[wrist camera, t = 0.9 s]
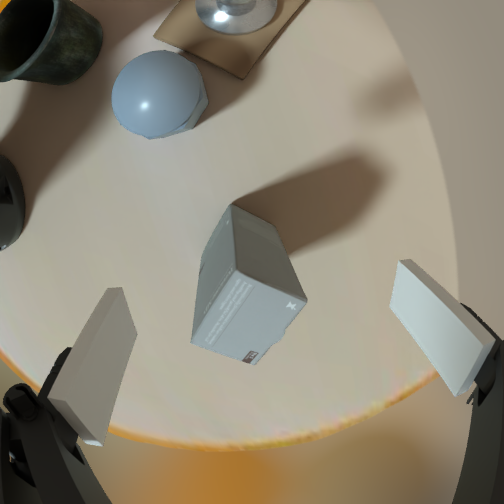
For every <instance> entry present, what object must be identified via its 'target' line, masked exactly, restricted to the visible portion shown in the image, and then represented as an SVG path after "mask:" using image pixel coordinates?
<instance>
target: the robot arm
mask: <svg viewBox="0 0 504 504" xmlns="http://www.w3.org/2000/svg"><path fill="white" fill-rule="evenodd" d="M24 217H25V201H24V194H23V189H22V185H21V182H20V179H19V176H18V174H17V172H16V170H15V168H14V167H13V165H12V164H11V163H10V161H9V160H8V159H6V158H5V157H4V156H2V155H0V251H2V250H4V249H6V248H7V247H8V246H10V245H11V244H13V243H14V242H15V241H16V240H17V238H18V237H19V235H20V233H21V230H22V227H23V223H24ZM390 308H391V310H392V311H393V312H394V313H395V315H396V316H397V317H398V319H399V320H400V321H401V322H402V324H403V325H404V326H405V328H406V329H407V330H408V332H409V333H410V334H411V336H412V337H413V338H414V340H415V341H416V342H417V344H418V345H419V346H420V348H421V349H422V350H423V352H424V353H425V355H426V356H427V357H428V359H429V360H430V362H431V363H432V364H433V366H434V367H435V369H436V370H437V371H438V373H439V374H440V376H441V377H442V378H443V380H444V381H445V383H446V385H447V386H448V387H449V389H450V390H451V392H452V393H453V395H454V396H455V397H456V396H458V395H460V394H462V393H464V392H466V391H467V390H468V389H469V387H470V386H471V384H472V383H473V381H475V383H476V384H477V386H476V388H475V390H474V391H473V392H472V394H471V396H470V397H469V399H468V400H467V404H469V402H470V401H471V400H472V398H474V399H473V403H472V405H473V409H472V417H471V425H470V432H469V437H468V443H467V448H466V453H465V458H464V463H463V467H462V471H461V475H460V478H459V482H458V486H457V489H456V493H455V496H454V499H453V502H452V504H504V340H503V341H502V340H501V339H500V338H499V337H498V336H497V335H496V333H494V331H493V330H492V329H491V328H490V327H489V326H488V325H487V324H486V323H485V322H483V321H482V319H481V318H480V317H479V316H478V317H477V314H476V313H475V312H474V311H472V309H471V308H469V307H467V306H466V305H464V304H462V303H459V302H458V301H457V300H456V299H455V298H454V297H453V296H452V295H451V294H449V293H448V292H447V291H446V290H445V289H444V288H443V287H442V286H441V285H440V284H439V283H437V282H436V281H435V280H434V279H433V278H432V277H431V276H430V275H428V274H427V273H426V272H425V271H424V270H423V269H422V268H420V267H419V266H418V265H417V264H416V263H415V262H413V261H412V260H411V259H407V260H399V261H398V266H397V272H396V277H395V282H394V288H393V293H392V297H391V302H390ZM136 337H137V331H136V328H135V326H134V323H133V320H132V317H131V314H130V311H129V308H128V305H127V302H126V299H125V296H124V292H123V289H122V287H119V288H108V289H107V290H106V292H105V293H104V295H103V296H102V298H101V300H100V301H99V303H98V305H97V306H96V308H95V309H94V311H93V313H92V314H91V316H90V318H89V320H88V321H87V323H86V325H85V326H84V328H83V330H82V332H81V333H80V335H79V337H78V339H77V340H76V342H75V344H74V346H73V348H71V347H67V348H66V349H65V350H64V351H63V352H62V353H61V354H60V355H59V356H58V358H57V360H56V362H55V363H54V366H53V367H52V369H51V371H50V374H49V375H48V376H47V378H46V380H45V382H44V384H43V386H42V388H41V390H40V392H39V394H38V396H36V394H35V393H34V392H33V391H32V389H31V387H30V386H28V385H27V384H24V383H19V384H16V385H14V386H12V387H11V388H9V390H8V391H7V392H6V394H5V396H4V398H3V405H4V406H5V407H6V408H7V409H8V411H9V412H10V413H5V412H4V411H3V410H2V409H1V407H0V504H112V503H111V501H110V500H109V498H108V497H107V495H106V493H105V492H104V490H103V488H102V487H101V485H100V484H99V482H98V480H97V478H96V477H95V475H94V473H93V471H92V469H91V468H90V466H89V464H88V462H87V460H86V458H85V456H84V454H83V452H82V450H81V448H80V446H79V445H78V444H77V443H76V441H77V438H78V435H79V437H80V438H82V440H83V441H84V442H85V443H86V444H92V445H97V446H103V444H104V441H105V437H106V433H107V430H108V426H109V422H110V419H111V415H112V412H113V408H114V405H115V401H116V398H117V395H118V391H119V388H120V385H121V382H122V378H123V375H124V372H125V369H126V366H127V363H128V360H129V357H130V354H131V351H132V348H133V345H134V342H135V340H136ZM9 455H10V456H11V462H10V457H9Z"/></svg>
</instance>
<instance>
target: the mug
mask: <svg viewBox="0 0 504 504" xmlns="http://www.w3.org/2000/svg"><path fill="white" fill-rule="evenodd" d="M101 43H102V28H101V25H100V23H99V22H98V20H97V19H96V18H94V17H93V16H91V15H90V14H89V13H87V12H86V11H84V10H83V9H81V8H80V7H78V6H77V5H76V4H74V3H73V2H71V1H70V0H11V1H10V2H9V3H8V4H7V6H6V7H5V8H4V9H3V10H2V12H1V13H0V82H6V81H10V80H12V79H17V80H26V81H34V82H41V83H47V84H54V85H64V84H68V83H70V82H72V81H74V80H76V79H78V78H79V77H80V76H81V75H83V74H84V73H85V72H86V71H87V70H88V69H89V67H90V66H91V65H92V63H93V62H94V60H95V59H96V57H97V55H98V53H99V50H100V47H101Z"/></svg>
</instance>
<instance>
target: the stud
mask: <svg viewBox="0 0 504 504" xmlns="http://www.w3.org/2000/svg"><path fill="white" fill-rule="evenodd" d="M195 7H196V12H197V15H198V17H199V19H200V20H201V22H202V23H203V24H204V25H205V26H206V27H208V28H209V29H211V30H213V31H215V32H217V33H220V34H224V35H232V36H239V35H246V34H250V33H253V32H256V31H258V30H260V29H262V28H263V27H265V26H266V25H267V24H268V23H269V22H270V21H271V19H272V18H273V16H274V14H275V11H276V8H277V0H196V1H195Z"/></svg>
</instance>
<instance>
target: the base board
mask: <svg viewBox="0 0 504 504" xmlns="http://www.w3.org/2000/svg"><path fill="white" fill-rule="evenodd" d="M195 1H196V0H180V2H179V3H178V4H177V5H176V6H175V8H174V9H173V10H172V11H171V13H170V14H169V15H168V16H167V18H166V19H165V20H164V22H163V23H162V24H161V26H160V27H159V28H158V30H157V31H156V32H155V34H154V35H153V37H154V38H156V39H158V40H160V41H163V42H165V43H168V44H170V45H172V46H175V47H177V48H179V49H182V50H184V51H186V52H188V53H190V54H193V55H195V56H197V57H199V58H201V59H203V60H205V61H207V62H209V63H211V64H213V65H215V66H217V67H219V68H221V69H223V70H225V71H227V72H229V73H230V74H232V75H234V76H236V77H238V78H240V79H241V80H243V79H244V78H245V77H246V75H247V74H248V72H249V71H250V70H251V68H252V67H253V65H254V64H255V63H256V61H257V60H258V59H259V57H260V56H261V55H262V53H263V52H264V51H265V49H266V48H267V47H268V45H269V44H270V43H271V41H272V40H273V39H274V38H275V36H276V35H277V34H278V32H279V31H280V30H281V29H282V27H283V26H284V25H285V24H286V23H287V21H288V20H289V19H290V18H291V17H292V15H293V14H294V13H295V12H296V11H297V9H298V8H299V7H300V6H301V5H302V4H303V3H304V1H305V0H277V8H276V11H275V14H274V16H273V18H272V19H271V21H270V22H269V23H268V24H267V25H266V26H265V27H263V28H262V29H260V30H258V31H256V32H253V33H250V34H246V35H239V36H232V35H224V34H220V33H217V32H215V31H213V30H211V29H209V28H208V27H206V26H205V25H204V24H203V23H202V22H201V20H200V19H199V17H198V15H197V12H196V7H195Z"/></svg>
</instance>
